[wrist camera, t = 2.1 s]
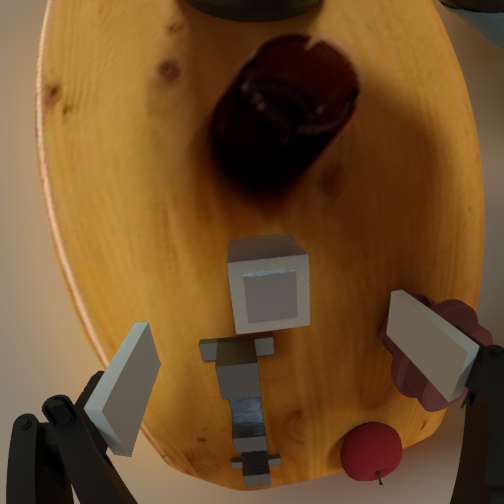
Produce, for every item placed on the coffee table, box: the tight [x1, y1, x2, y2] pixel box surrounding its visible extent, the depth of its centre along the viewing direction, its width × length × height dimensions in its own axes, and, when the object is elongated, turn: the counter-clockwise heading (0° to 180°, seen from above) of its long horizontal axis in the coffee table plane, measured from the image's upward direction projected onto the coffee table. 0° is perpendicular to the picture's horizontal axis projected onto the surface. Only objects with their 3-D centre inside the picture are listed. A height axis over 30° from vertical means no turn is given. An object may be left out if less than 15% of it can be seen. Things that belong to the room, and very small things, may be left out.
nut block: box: [227, 233, 310, 334], centre depth 21 cm, size 5×5×7 cm
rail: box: [199, 333, 281, 487], centre depth 27 cm, size 24×7×4 cm, turn 5°
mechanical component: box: [378, 290, 493, 412], centre depth 21 cm, size 12×10×10 cm
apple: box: [340, 422, 402, 485], centre depth 27 cm, size 9×9×10 cm
